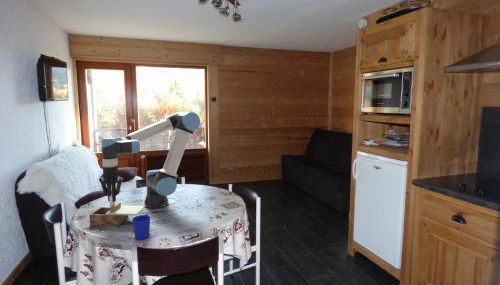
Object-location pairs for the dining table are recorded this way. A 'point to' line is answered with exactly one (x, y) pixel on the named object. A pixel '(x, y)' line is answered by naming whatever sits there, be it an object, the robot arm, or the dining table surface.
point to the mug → (141, 226)
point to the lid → (124, 209)
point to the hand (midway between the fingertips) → (112, 207)
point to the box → (106, 218)
